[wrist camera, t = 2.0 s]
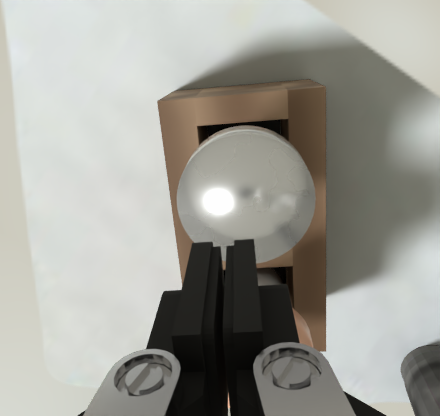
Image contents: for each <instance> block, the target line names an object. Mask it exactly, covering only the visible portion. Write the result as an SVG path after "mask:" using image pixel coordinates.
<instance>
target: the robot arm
mask: <svg viewBox="0 0 440 416" xmlns="http://www.w3.org/2000/svg"><path fill="white" fill-rule="evenodd" d="M228 394H229V404H230V413H231V416H386V415H384V414H383V413H381V412H379V411H377V410H376V409H374V408H372V407H370V406H369V405H367V404H365V403H363V402H362V401H360V400H358V399H356V398H355V397H353V396H351V395H349V394H348V393H346V392H344V391H343V389H342V388H341V386H340V384H339V382H338V380H337V378H336V376H335V374H334V372H333V370H332V368H331V366H330V364H329V362H328V361H327V359H326V358H325V357H324V356H323V354H322V353H320V352H319V351H317V350H316V349H315V348H313V347H310V346H308V345H305V344H301V343H300V341H299V337H298V332H297V327H296V323H295V318H294V314H293V309H292V304H291V300H290V295H289V290H288V286H287V284H280V285H262V286H258V277H257V266H256V255H255V245H254V239H243V240H234V245H232V246H227V247H226V267H225V285H224V274H223V264H222V254H221V247H220V246H216V247H213V242H197V243H192V246H191V250H190V255H189V259H188V264H187V268H186V273H185V277H184V282H183V286H182V290H175V291H164V292H163V294H162V297H161V301H160V304H159V307H158V311H157V314H156V318H155V321H154V324H153V328H152V331H151V334H150V338H149V341H148V344H147V348H146V349H144V350H141V351H137V352H133V353H131V354H129V355H127V356H125V357H123V358H122V359H121V360H119V361H118V362H117V363H115V365H114V366H113V367H112V368H111V370H110V371H109V372H108V374H107V376H106V377H105V379H104V381H103V382H102V384H101V386H100V387H99V389H98V391H97V393H96V394H95V396H94V398H93V399H92V401H91V403H90V405H89V406H88V408H87V410H86V411H84V412H82V413H81V414H80V415H78V416H228Z"/></svg>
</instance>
